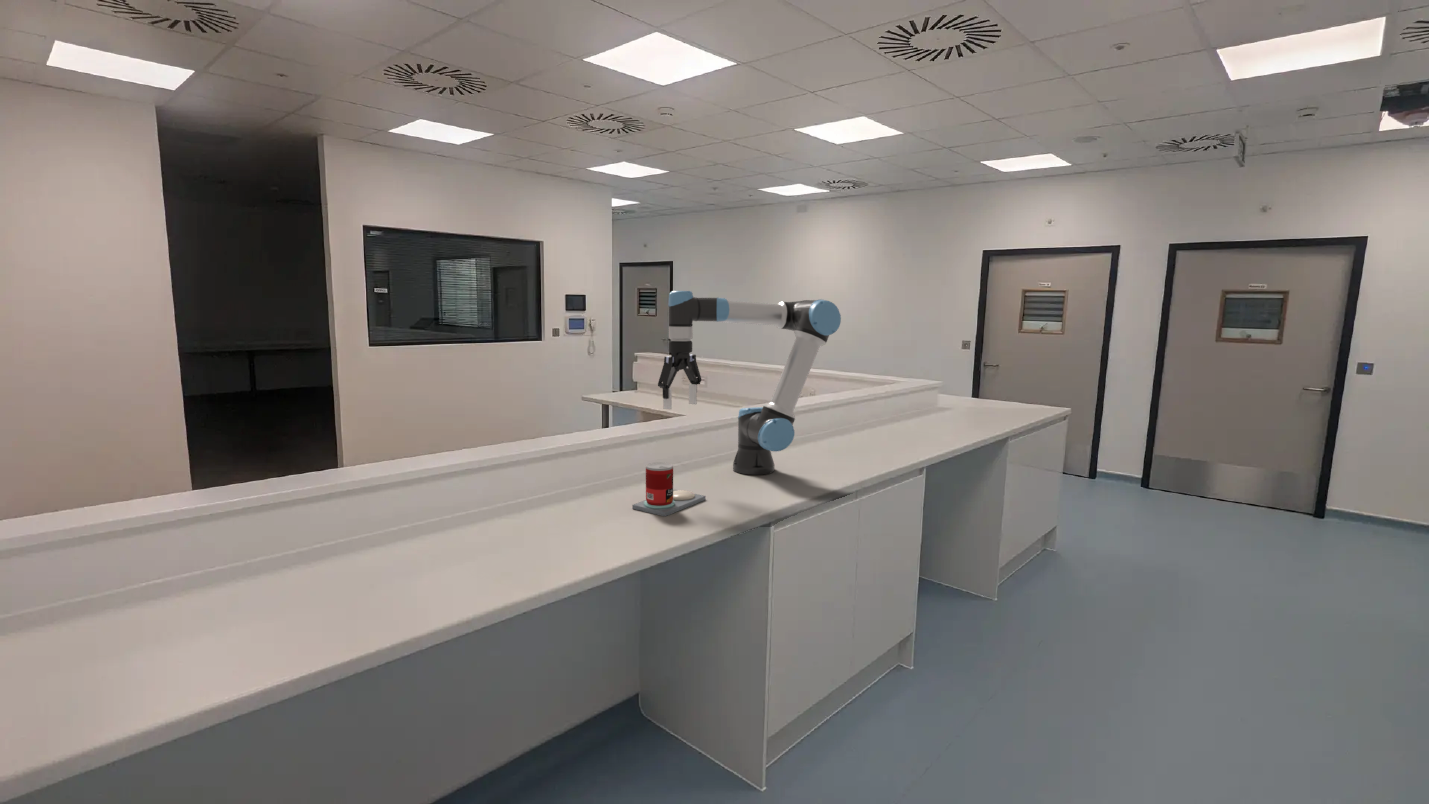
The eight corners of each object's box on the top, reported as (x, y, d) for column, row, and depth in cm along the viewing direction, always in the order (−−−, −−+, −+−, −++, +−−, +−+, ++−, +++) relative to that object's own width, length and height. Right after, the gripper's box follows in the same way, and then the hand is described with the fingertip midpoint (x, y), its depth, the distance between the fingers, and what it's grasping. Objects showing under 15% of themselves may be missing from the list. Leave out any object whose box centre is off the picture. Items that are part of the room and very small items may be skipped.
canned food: (671, 506, 185) (671, 468, 184) (644, 505, 186) (643, 468, 184) (674, 498, 193) (674, 462, 191) (647, 498, 193) (647, 462, 192)
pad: (657, 498, 196) (657, 496, 196) (681, 503, 191) (681, 501, 191) (637, 505, 188) (637, 503, 188) (661, 510, 183) (661, 508, 183)
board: (674, 493, 205) (674, 487, 205) (705, 499, 199) (705, 494, 198) (632, 508, 189) (632, 502, 188) (665, 516, 182) (665, 510, 182)
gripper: (693, 338, 218) (693, 401, 221) (646, 341, 198) (646, 410, 201) (712, 339, 214) (711, 402, 217) (665, 341, 193) (665, 412, 196)
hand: (680, 406), depth 209 cm, fingers open, 13 cm apart
